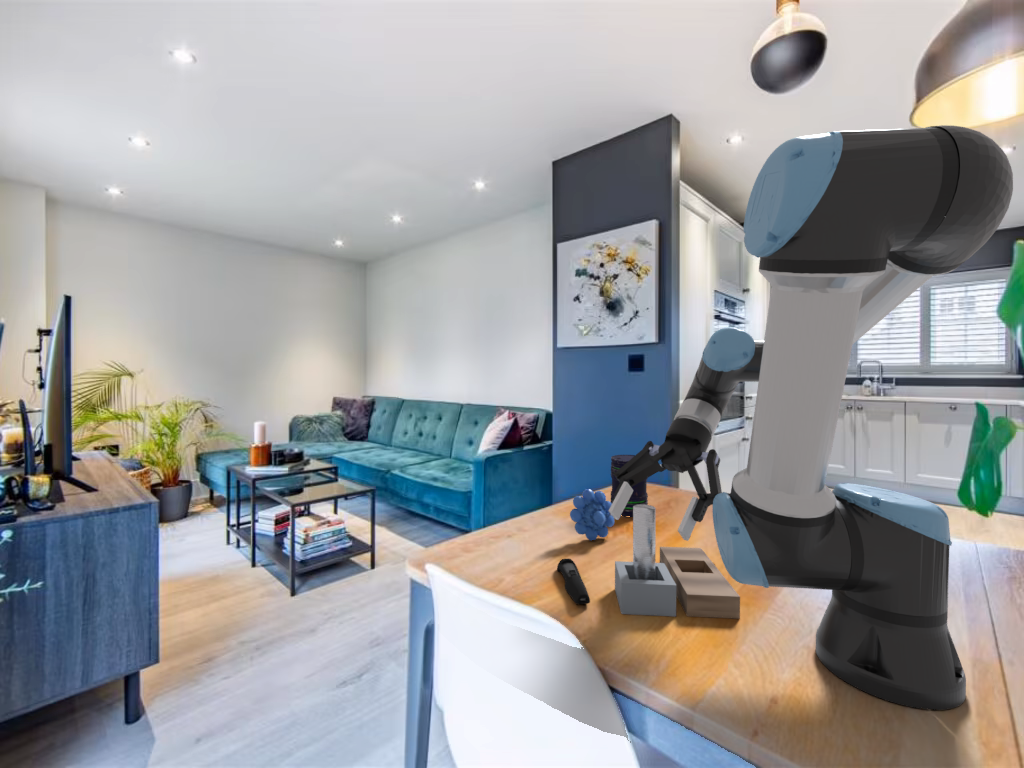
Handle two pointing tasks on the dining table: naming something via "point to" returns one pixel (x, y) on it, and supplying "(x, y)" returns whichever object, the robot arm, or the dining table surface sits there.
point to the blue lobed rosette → (592, 514)
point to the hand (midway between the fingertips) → (645, 525)
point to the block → (645, 591)
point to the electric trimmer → (573, 581)
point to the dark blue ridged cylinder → (639, 489)
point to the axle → (644, 542)
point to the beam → (700, 584)
